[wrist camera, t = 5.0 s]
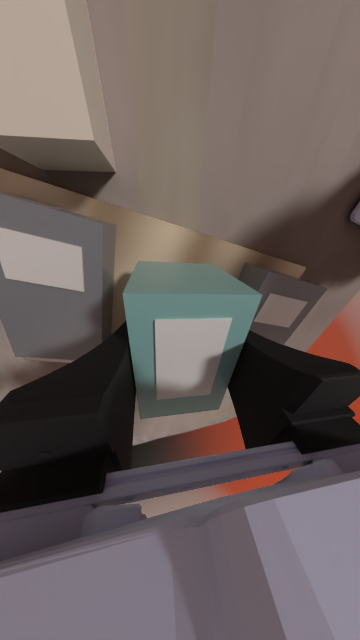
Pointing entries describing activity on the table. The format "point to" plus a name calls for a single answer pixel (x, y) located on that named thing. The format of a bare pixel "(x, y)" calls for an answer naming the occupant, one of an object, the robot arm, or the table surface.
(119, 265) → the board
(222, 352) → the teal module
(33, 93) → the block
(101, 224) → the mounted modules
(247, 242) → the table surface
